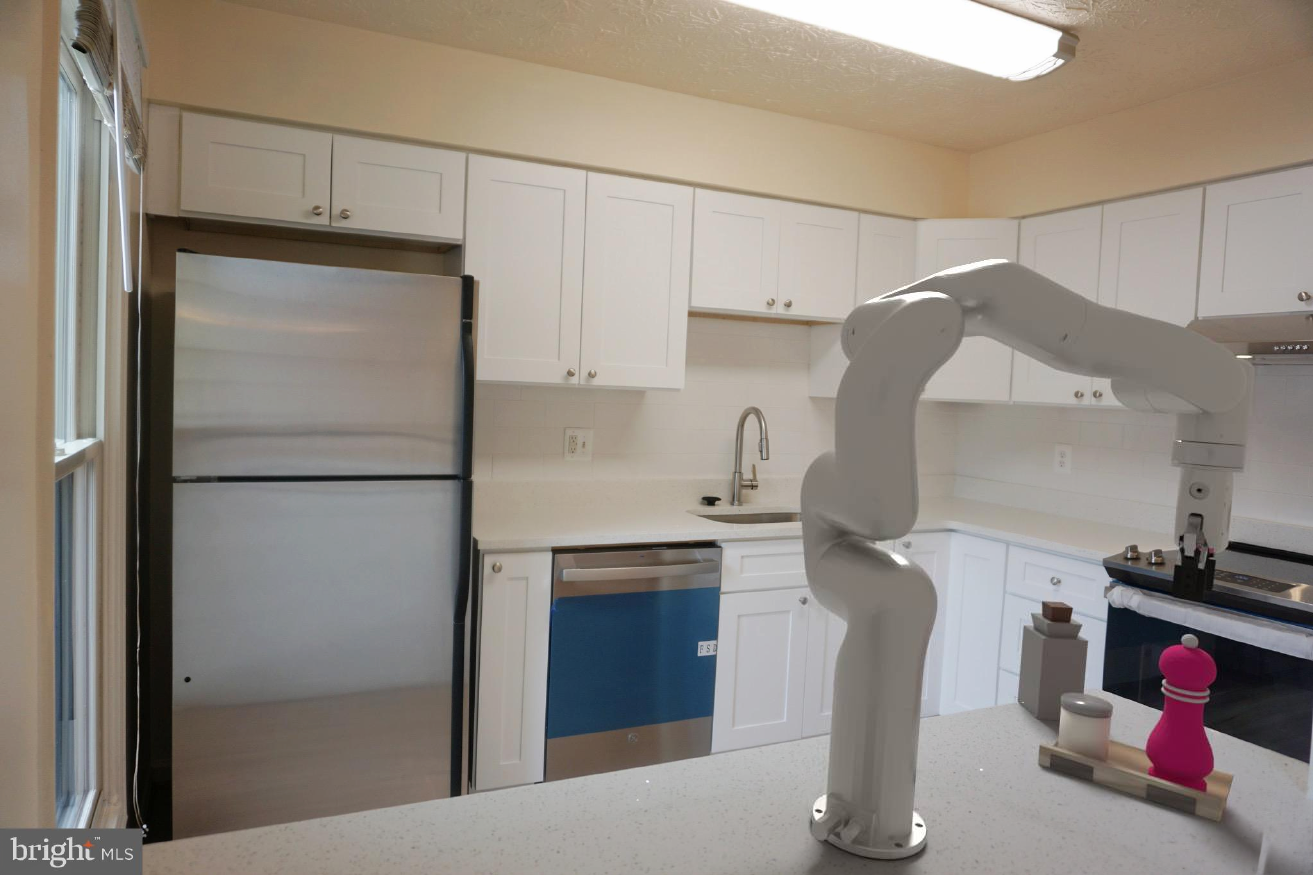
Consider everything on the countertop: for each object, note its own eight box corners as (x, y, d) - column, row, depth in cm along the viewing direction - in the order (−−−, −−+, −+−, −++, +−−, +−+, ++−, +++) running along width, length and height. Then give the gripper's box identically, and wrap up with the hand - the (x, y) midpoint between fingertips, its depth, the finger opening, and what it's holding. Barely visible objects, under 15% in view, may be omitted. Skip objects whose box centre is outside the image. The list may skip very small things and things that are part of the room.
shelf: (1219, 830, 93) (1222, 801, 93) (1036, 771, 106) (1039, 745, 106) (1232, 782, 105) (1235, 757, 105) (1067, 734, 118) (1069, 711, 118)
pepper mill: (1156, 799, 98) (1171, 640, 96) (1133, 771, 105) (1146, 623, 104) (1222, 807, 96) (1237, 646, 95) (1194, 779, 103) (1208, 629, 102)
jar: (1102, 774, 104) (1107, 714, 103) (1051, 758, 108) (1055, 700, 107) (1112, 759, 108) (1117, 702, 108) (1062, 744, 112) (1067, 689, 112)
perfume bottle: (1080, 727, 121) (1090, 611, 120) (1036, 724, 121) (1045, 609, 120) (1059, 709, 128) (1068, 599, 127) (1017, 707, 128) (1025, 597, 127)
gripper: (1238, 462, 89) (1221, 612, 90) (1250, 459, 102) (1235, 590, 103) (1160, 455, 94) (1145, 597, 95) (1181, 453, 107) (1168, 578, 108)
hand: (1192, 593), depth 99 cm, fingers open, 9 cm apart
